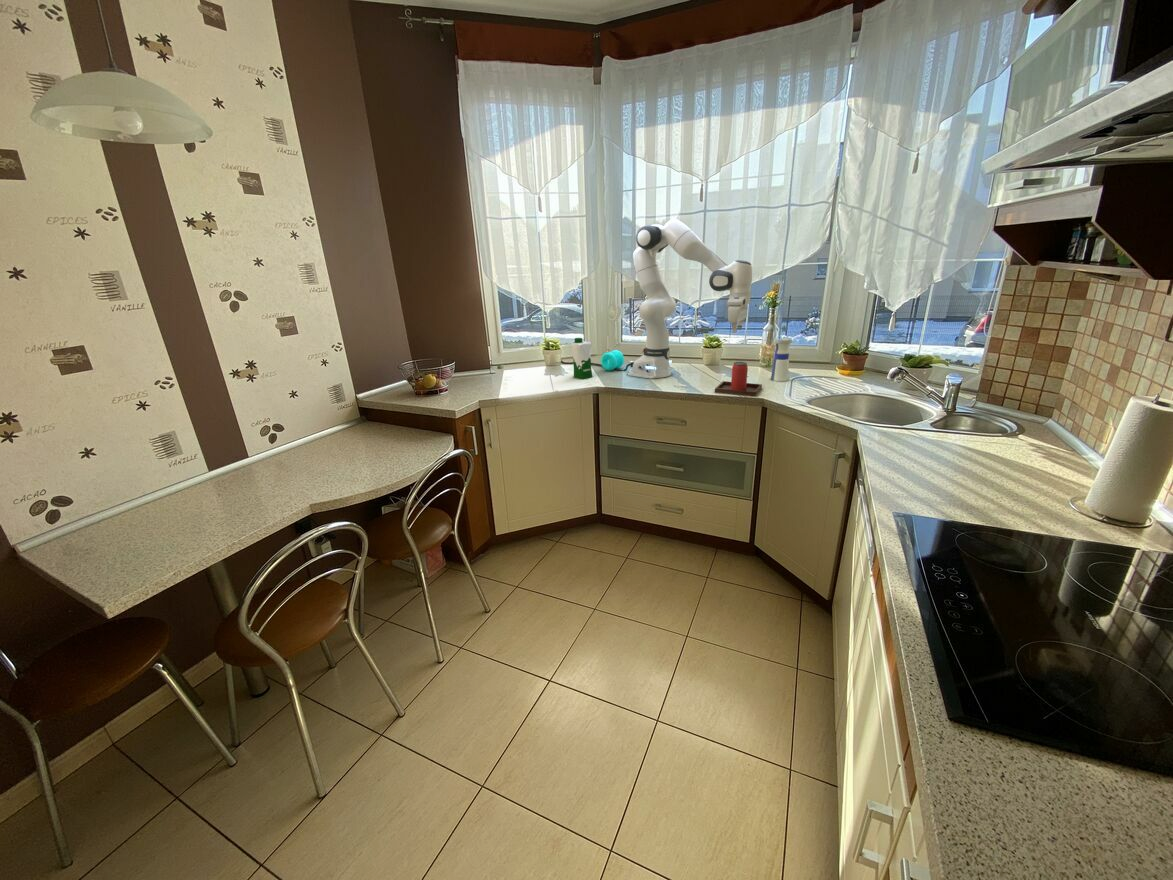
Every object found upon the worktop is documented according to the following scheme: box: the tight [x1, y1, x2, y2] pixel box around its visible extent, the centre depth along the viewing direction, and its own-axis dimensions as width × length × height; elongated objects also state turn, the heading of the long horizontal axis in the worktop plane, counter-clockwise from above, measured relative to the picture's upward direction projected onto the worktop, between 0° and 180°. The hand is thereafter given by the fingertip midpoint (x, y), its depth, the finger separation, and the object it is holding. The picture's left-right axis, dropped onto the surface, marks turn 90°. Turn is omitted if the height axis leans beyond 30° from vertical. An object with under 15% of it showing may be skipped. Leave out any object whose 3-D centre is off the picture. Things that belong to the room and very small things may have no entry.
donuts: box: [600, 349, 625, 372], centre depth 262 cm, size 10×10×10 cm
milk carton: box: [570, 337, 593, 380], centre depth 247 cm, size 9×9×20 cm
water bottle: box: [770, 325, 793, 382], centre depth 224 cm, size 8×9×25 cm
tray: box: [714, 380, 763, 398], centre depth 213 cm, size 18×14×2 cm
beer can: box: [730, 361, 749, 391], centre depth 212 cm, size 7×7×12 cm
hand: (736, 330), depth 216 cm, fingers open, 8 cm apart
